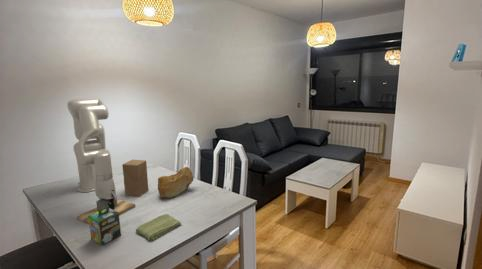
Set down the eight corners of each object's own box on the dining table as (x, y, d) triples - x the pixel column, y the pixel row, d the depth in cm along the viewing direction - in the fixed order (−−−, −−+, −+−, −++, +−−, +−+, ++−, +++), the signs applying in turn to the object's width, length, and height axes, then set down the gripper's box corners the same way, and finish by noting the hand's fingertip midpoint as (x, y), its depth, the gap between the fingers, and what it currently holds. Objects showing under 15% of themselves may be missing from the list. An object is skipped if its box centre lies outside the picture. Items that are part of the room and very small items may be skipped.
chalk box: (110, 229, 118) (107, 200, 115) (122, 235, 113) (118, 205, 110) (90, 239, 110) (86, 208, 107) (101, 246, 105) (97, 214, 102)
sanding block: (97, 212, 130) (96, 201, 129) (111, 205, 137) (110, 195, 136) (104, 214, 128) (102, 203, 127) (117, 207, 135) (116, 196, 134)
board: (77, 219, 126) (77, 216, 126) (115, 201, 146) (115, 198, 145) (98, 226, 120) (98, 223, 119) (135, 206, 139) (135, 204, 139)
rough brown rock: (183, 184, 173) (180, 163, 170) (197, 189, 161) (194, 166, 159) (151, 195, 156) (147, 172, 154) (164, 202, 145) (160, 177, 142)
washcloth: (182, 225, 121) (182, 219, 121) (150, 243, 108) (150, 236, 107) (166, 216, 129) (165, 211, 129) (134, 232, 116) (133, 226, 115)
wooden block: (139, 196, 152) (136, 165, 148) (125, 195, 154) (121, 164, 150) (148, 190, 161) (146, 160, 157) (134, 188, 163) (132, 159, 159)
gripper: (86, 176, 129) (90, 208, 133) (109, 181, 122) (113, 215, 126) (99, 171, 136) (103, 202, 139) (122, 176, 129) (125, 209, 132)
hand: (108, 208), depth 133 cm, fingers closed on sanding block, 5 cm apart
